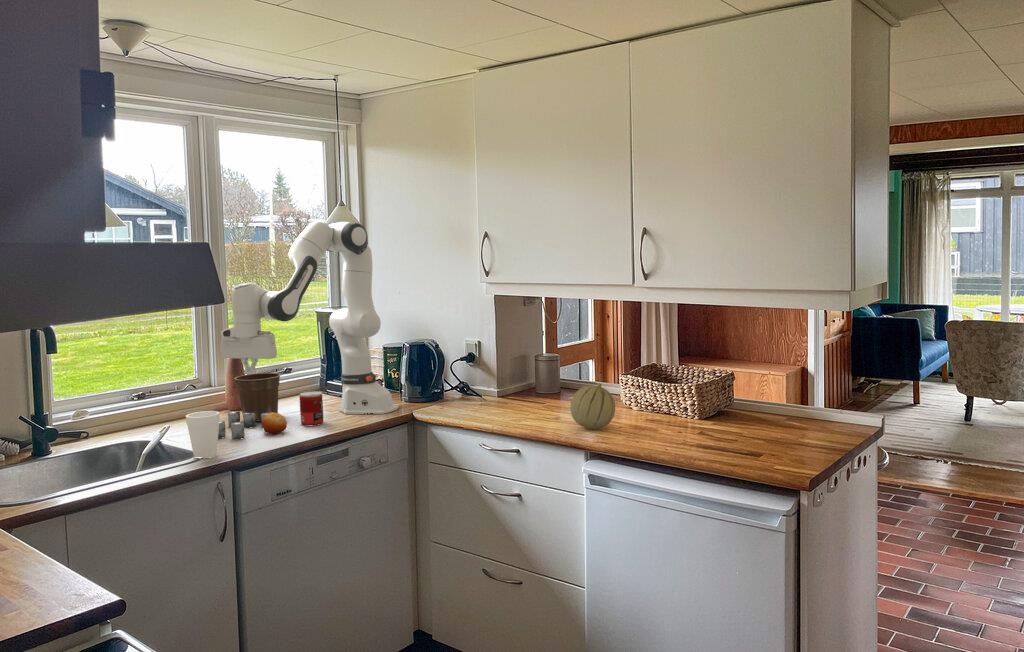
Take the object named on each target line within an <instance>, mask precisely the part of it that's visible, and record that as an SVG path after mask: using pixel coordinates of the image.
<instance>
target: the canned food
mask: <svg viewBox="0 0 1024 652" xmlns="http://www.w3.org/2000/svg"><path fill="white" fill-rule="evenodd" d="M323 404H324V403H323V392H322V391H304V392H301V393H299V411H300V423H301V425H302V426H303V425H317V426H319V425H318V424H321V425H323V424H324V405H323ZM322 423H323V424H322Z"/></svg>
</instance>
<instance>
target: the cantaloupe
mask: <svg viewBox="0 0 1024 652" xmlns="http://www.w3.org/2000/svg"><path fill="white" fill-rule="evenodd" d="M615 401H616V400H614V396H613V395H612V394H611V392H609V390H608V389H606V388H604V387H602V383H600V382H599V384H598V385H593V384H588V385H585V386H582V387H580V388H579V389H578V390H577V391H576V392H575V393H574V395H573V396H572V398H571V401H570V407H569V408H570V409H569V410H570V414H571V417H572V419H573V420H574V422H575V423H577V425H579V426H580V427H583V428H585V429H586V428H588V429H587V430H592V429H595V430H600V429H603V428H605V427H607V426H608V425H609V424H611V423H612V420H613V419H614V417H615V413H616V402H615Z"/></svg>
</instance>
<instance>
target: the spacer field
mask: <svg viewBox="0 0 1024 652" xmlns="http://www.w3.org/2000/svg"><path fill="white" fill-rule="evenodd" d="M269 413H272V412H264V413H261V422H260V423H261V424H260V425H261V429H263V426H262V420H263V418H264V417H265V416H266V415H267V414H269ZM227 420H228V422H227V423H228V428H230V430H231V431H230V433H231V439H232V440H233V439H239V440H242V439H241V438H243V439H245V438H244V437H245V429H250V428H249V427H252V428H255V427H254V426H257V425H256V422H257V421H255V412H244V413H243V414H242V421H241V413H240V411H238V410H237V411H236V410H235V411H228V412H227ZM244 427H246V428H244ZM225 436H226V437H227V435H226V422H225V421H223V420H220V421H219V431H218V439H223V438H222V437H224V438H226V437H225Z"/></svg>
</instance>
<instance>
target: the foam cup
mask: <svg viewBox="0 0 1024 652" xmlns="http://www.w3.org/2000/svg"><path fill="white" fill-rule="evenodd" d="M220 418H221V416H220V412H219V411H215V410H203V411H196V412H195V411H194V412H191V413H188V414H186V415H185V423H186V426H187V430H188V435H189V440H190V444H191V448H192V453H193V456H194V457H202V458H209V457H213V456H215V457H217V456H216V455H218V454H217V453H218V446H219V445H218V444H219V438H218V431H219V421H221V419H220ZM213 458H214V457H213ZM209 459H210V458H209Z"/></svg>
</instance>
